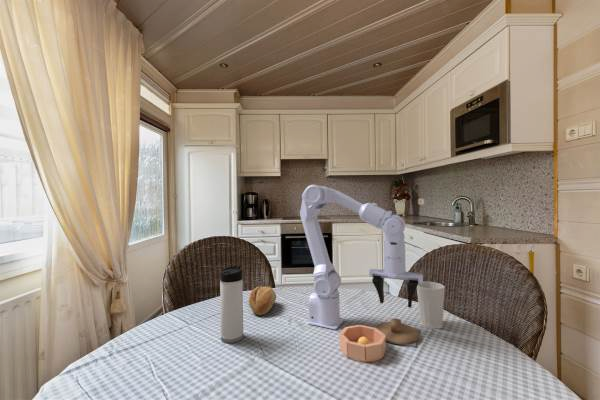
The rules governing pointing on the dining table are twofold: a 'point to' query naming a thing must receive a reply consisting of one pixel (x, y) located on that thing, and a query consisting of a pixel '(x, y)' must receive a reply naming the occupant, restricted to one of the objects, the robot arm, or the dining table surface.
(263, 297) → the bread roll
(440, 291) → the cup
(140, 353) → the dining table surface
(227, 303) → the travel mug
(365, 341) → the clementine
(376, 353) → the bowl
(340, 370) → the dining table surface
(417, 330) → the mat
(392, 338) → the lid
